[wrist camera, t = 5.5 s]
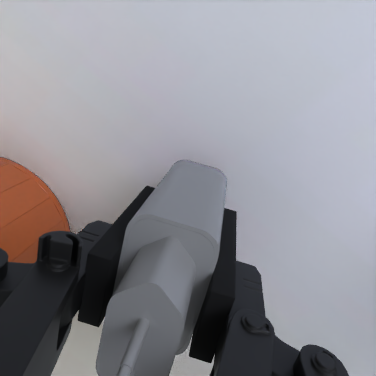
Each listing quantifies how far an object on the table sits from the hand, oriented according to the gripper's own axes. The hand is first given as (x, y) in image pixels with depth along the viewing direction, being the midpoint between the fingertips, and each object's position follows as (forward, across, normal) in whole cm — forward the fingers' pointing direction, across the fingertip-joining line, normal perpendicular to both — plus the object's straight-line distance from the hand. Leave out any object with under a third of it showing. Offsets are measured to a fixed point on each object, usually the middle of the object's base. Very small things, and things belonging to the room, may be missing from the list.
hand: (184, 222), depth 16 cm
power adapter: (+2, 0, 0) cm, 2 cm away
